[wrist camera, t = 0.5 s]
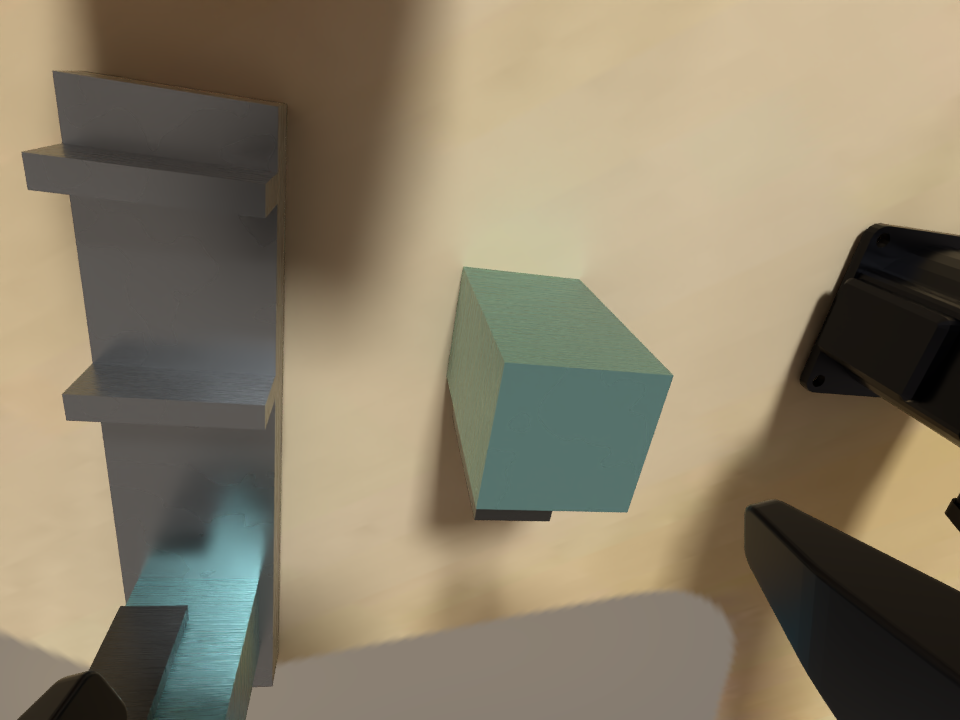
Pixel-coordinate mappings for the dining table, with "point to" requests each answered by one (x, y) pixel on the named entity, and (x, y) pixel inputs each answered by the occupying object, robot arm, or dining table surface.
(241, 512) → the rail
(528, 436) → the block
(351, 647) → the dining table surface
